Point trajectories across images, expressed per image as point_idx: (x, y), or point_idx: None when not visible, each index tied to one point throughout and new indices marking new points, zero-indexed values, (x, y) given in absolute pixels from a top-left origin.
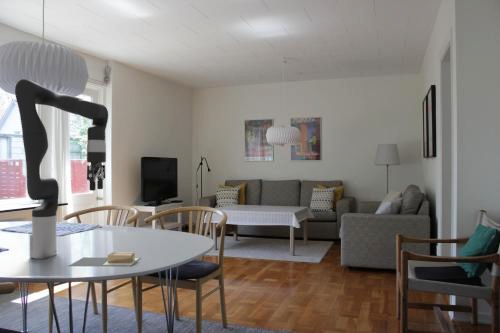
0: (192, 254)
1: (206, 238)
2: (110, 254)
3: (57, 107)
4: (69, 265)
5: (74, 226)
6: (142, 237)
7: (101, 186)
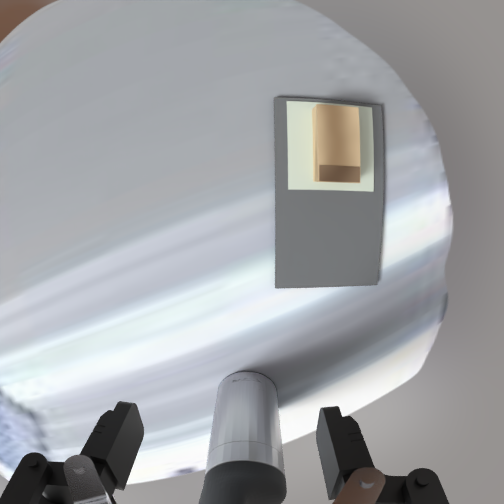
0: None
1: (7, 37)
2: (353, 176)
3: None
4: (371, 284)
5: None
6: None
7: (128, 422)
